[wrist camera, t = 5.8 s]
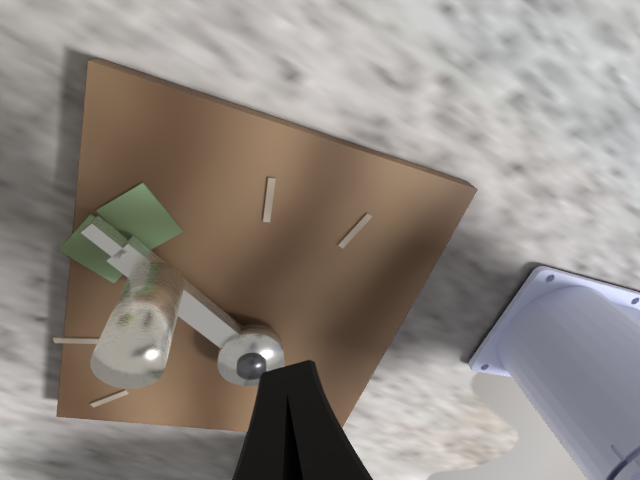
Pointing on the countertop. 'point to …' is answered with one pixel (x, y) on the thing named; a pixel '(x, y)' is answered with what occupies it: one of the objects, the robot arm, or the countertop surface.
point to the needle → (168, 321)
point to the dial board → (243, 244)
